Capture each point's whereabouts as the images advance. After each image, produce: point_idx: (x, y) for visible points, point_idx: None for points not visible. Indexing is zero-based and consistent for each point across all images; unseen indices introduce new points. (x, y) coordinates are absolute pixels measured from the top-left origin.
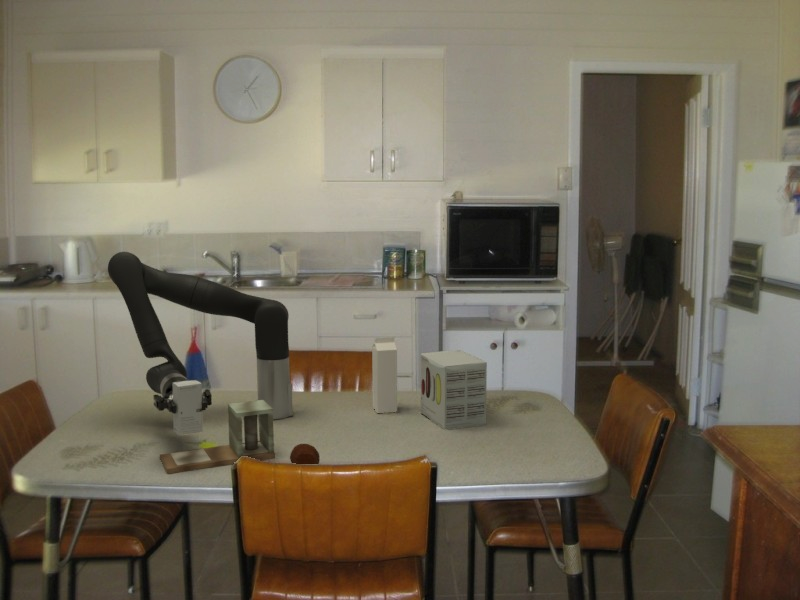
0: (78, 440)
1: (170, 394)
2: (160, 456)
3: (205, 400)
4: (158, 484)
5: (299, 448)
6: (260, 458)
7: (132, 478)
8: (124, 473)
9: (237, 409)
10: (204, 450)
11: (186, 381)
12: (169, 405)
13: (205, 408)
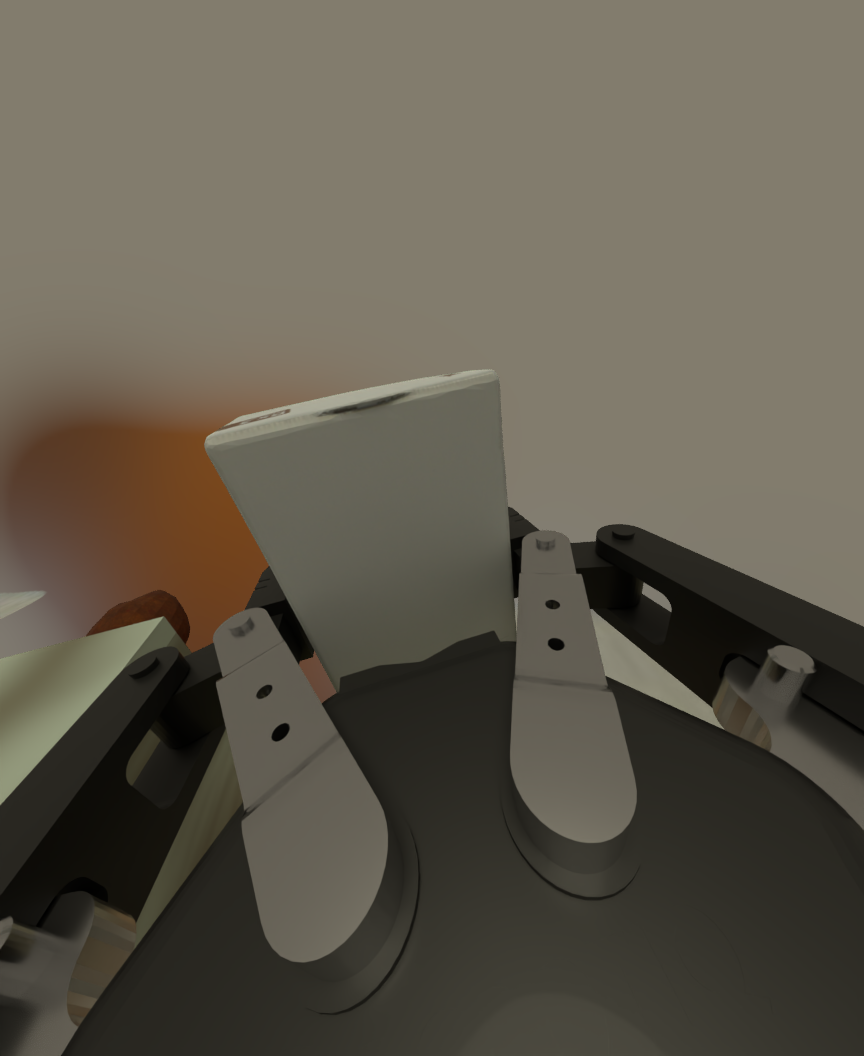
0: None
1: (691, 777)
2: None
3: (256, 596)
4: (516, 603)
5: (145, 603)
6: None
7: (615, 640)
8: (682, 683)
9: (89, 682)
10: None
11: (346, 396)
12: (512, 513)
13: None
